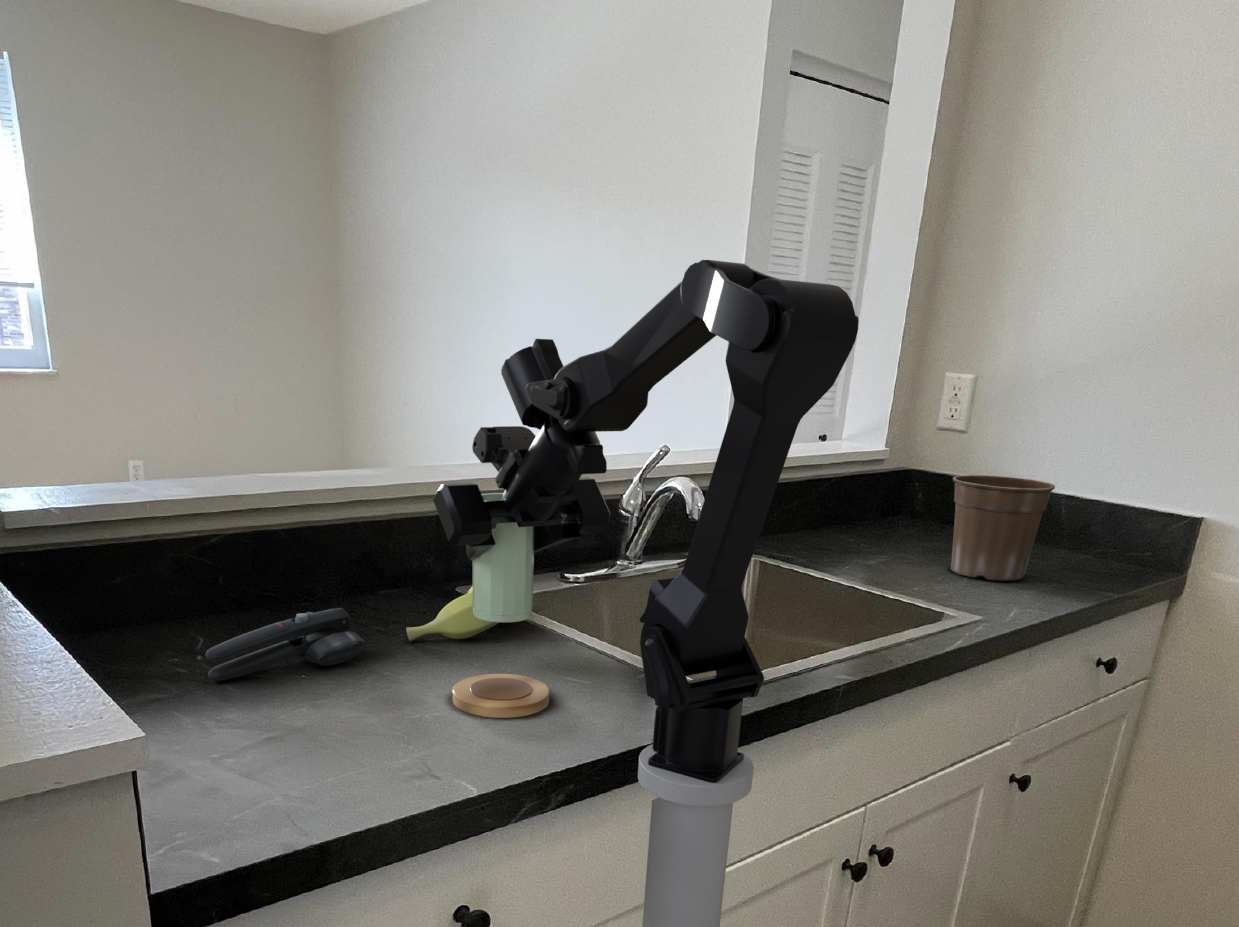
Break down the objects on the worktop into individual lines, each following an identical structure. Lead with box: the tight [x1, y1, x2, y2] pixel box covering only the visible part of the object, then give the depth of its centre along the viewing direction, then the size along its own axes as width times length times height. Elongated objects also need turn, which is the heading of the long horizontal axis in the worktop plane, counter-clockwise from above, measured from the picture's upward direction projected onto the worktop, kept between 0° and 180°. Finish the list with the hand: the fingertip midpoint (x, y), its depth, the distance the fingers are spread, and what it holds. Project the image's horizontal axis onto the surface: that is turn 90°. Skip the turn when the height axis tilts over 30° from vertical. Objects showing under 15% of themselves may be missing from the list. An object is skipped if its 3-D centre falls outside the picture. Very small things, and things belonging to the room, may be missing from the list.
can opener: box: [204, 607, 367, 682], centre depth 107 cm, size 18×7×6 cm, turn 135°
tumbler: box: [472, 492, 535, 623], centre depth 107 cm, size 7×7×13 cm
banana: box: [405, 585, 500, 642], centre depth 126 cm, size 14×6×20 cm
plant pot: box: [950, 474, 1056, 582], centre depth 168 cm, size 16×16×16 cm
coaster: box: [452, 673, 550, 719], centre depth 101 cm, size 10×10×1 cm
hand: (497, 554), depth 108 cm, fingers closed on tumbler, 7 cm apart
